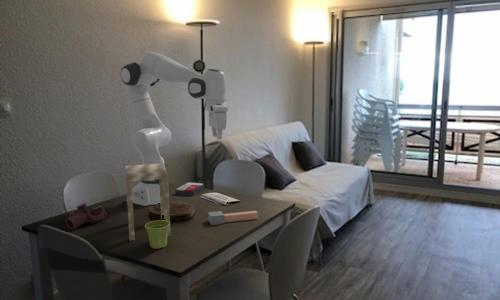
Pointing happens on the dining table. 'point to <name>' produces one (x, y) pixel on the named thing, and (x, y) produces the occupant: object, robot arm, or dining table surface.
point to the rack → (147, 174)
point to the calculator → (190, 189)
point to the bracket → (84, 216)
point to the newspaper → (219, 198)
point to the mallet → (230, 217)
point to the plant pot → (157, 233)
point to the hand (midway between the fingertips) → (217, 137)
